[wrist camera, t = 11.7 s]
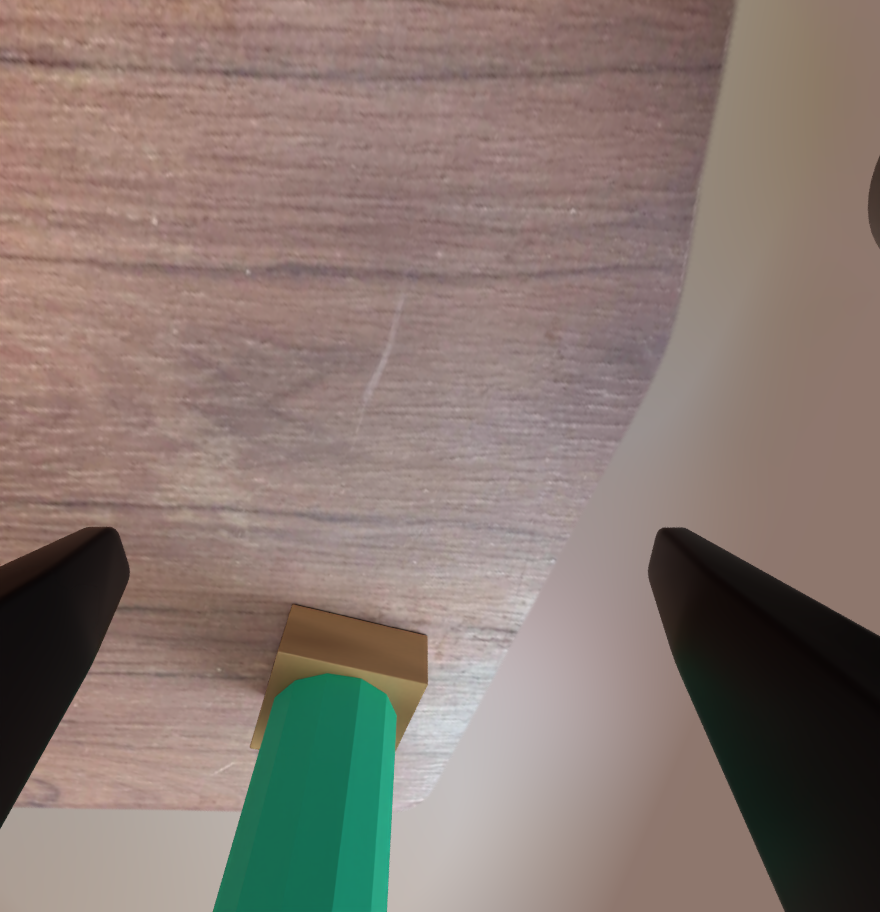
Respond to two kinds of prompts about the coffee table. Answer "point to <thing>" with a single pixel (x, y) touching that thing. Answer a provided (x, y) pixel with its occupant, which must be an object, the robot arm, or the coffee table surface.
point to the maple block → (349, 660)
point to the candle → (317, 804)
